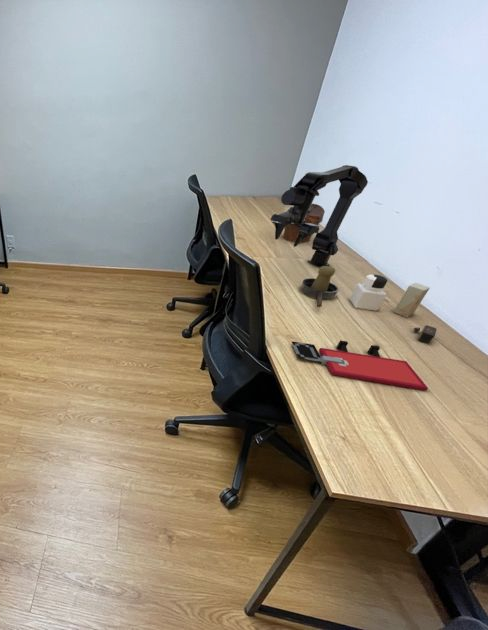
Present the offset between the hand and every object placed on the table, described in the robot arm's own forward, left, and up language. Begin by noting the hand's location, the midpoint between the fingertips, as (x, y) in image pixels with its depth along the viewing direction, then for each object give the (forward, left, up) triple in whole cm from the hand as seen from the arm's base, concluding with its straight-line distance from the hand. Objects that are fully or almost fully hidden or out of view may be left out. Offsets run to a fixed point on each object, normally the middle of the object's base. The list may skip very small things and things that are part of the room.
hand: (285, 242), depth 146 cm
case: (-44, -36, -15) cm, 58 cm away
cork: (-4, +20, -14) cm, 25 cm away
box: (-22, +40, -15) cm, 48 cm away
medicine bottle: (-13, +32, -15) cm, 37 cm away
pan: (-4, +20, -14) cm, 25 cm away
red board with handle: (+22, +59, -15) cm, 65 cm away
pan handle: (+5, +28, -12) cm, 31 cm away
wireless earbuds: (-13, +53, -15) cm, 56 cm away
